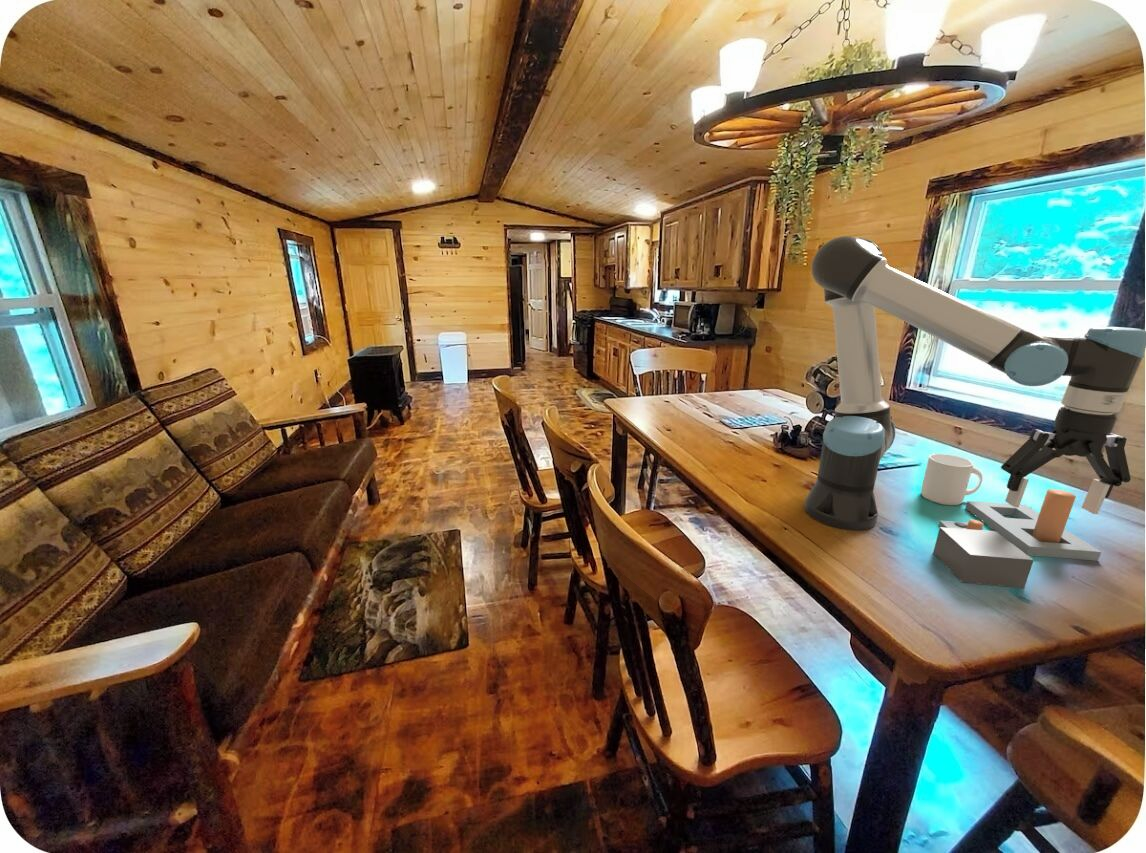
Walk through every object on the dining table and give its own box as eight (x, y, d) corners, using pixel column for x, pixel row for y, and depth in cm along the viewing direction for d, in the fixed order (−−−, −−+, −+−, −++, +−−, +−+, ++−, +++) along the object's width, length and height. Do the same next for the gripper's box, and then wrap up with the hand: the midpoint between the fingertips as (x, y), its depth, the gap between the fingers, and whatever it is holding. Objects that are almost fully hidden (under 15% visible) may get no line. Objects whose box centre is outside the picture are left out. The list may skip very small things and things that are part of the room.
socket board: (1026, 554, 90) (1029, 546, 90) (965, 508, 109) (967, 501, 108) (1097, 560, 88) (1101, 551, 87) (1022, 512, 106) (1025, 504, 106)
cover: (962, 582, 83) (970, 554, 81) (933, 552, 92) (939, 527, 90) (1024, 588, 81) (1033, 560, 79) (988, 557, 90) (996, 531, 88)
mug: (986, 509, 108) (998, 469, 105) (929, 504, 111) (939, 465, 108) (966, 493, 116) (977, 455, 113) (914, 489, 119) (922, 452, 116)
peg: (1039, 548, 92) (1057, 497, 88) (1025, 538, 96) (1041, 488, 92) (1062, 550, 91) (1081, 498, 88) (1047, 540, 95) (1064, 489, 91)
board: (957, 540, 96) (961, 524, 94) (938, 524, 102) (942, 508, 101) (994, 543, 94) (999, 527, 93) (973, 526, 101) (978, 511, 99)
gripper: (1026, 411, 83) (992, 510, 90) (1191, 419, 79) (1141, 523, 86) (999, 401, 90) (969, 493, 97) (1148, 407, 86) (1106, 504, 93)
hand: (1049, 507), depth 91 cm, fingers open, 13 cm apart
